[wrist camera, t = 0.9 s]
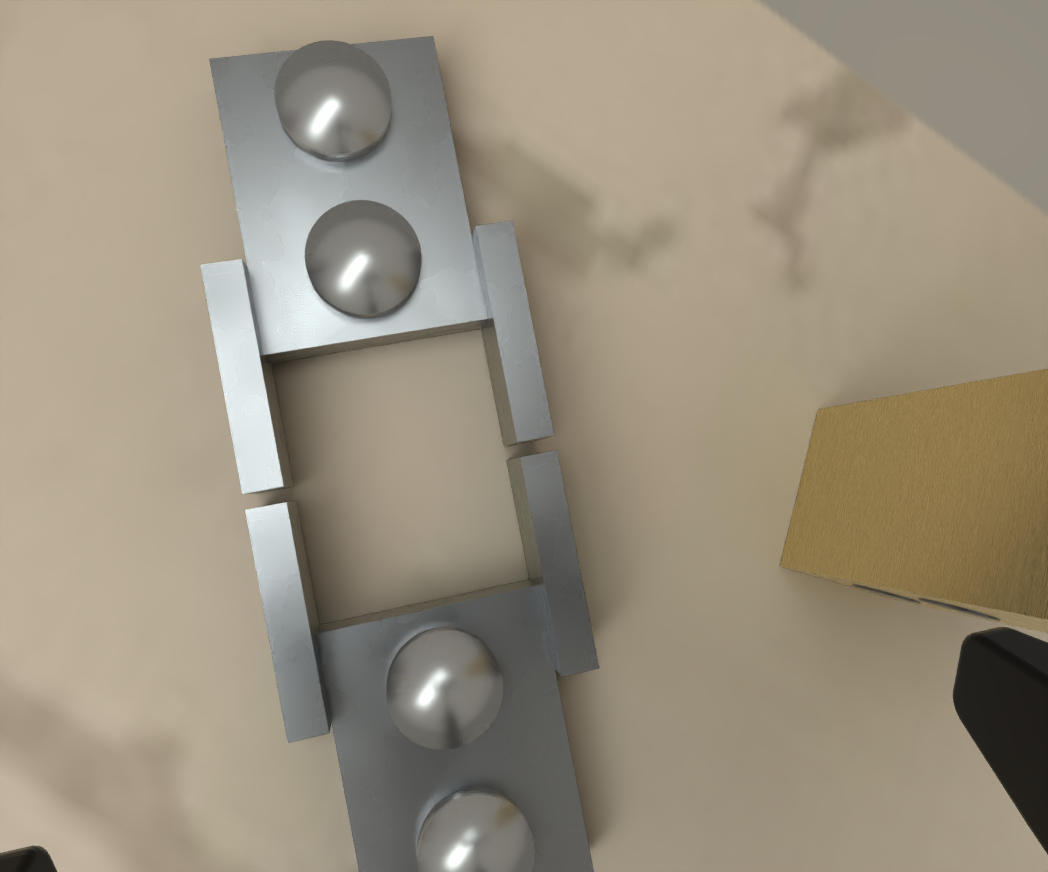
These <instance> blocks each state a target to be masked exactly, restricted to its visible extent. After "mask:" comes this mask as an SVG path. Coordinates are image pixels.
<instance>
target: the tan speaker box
mask: <svg viewBox="0 0 1048 872" xmlns="http://www.w3.org/2000/svg"><path fill="white" fill-rule="evenodd" d="M780 566H781V567H785V568H788V569H792V570H795V571H799V572H802V573H806V574H809V575H812V576H816V577H819V578H823V579H826V580H830V581H833V582H837V583H840V584H844V585H847V586H850V587H854V588H857V589H861V590H864V591H868V592H871V593H875V594H878V595H882V596H885V597H889V598H892V599H895V600H900V601H904V602H909V603H913V604H918V605H922V606H927V607H931V608H936V609H941V610H945V611H950V612H954V613H959V614H963V615H968V616H972V617H977V618H981V619H986V620H990V621H995V622H999V623H1004V624H1008V625H1013V626H1018V627H1022V628H1027V629H1031V630H1036V631H1040V632H1045V633H1048V369H1043V370H1037V371H1032V372H1026V373H1020V374H1015V375H1009V376H1003V377H998V378H992V379H987V380H981V381H975V382H970V383H964V384H958V385H953V386H947V387H942V388H936V389H930V390H925V391H919V392H913V393H908V394H902V395H897V396H891V397H885V398H880V399H874V400H868V401H863V402H857V403H852V404H846V405H840V406H835V407H829V408H823V409H818V412H817V417H816V421H815V425H814V429H813V433H812V437H811V441H810V445H809V449H808V453H807V457H806V461H805V465H804V469H803V473H802V477H801V481H800V485H799V490H798V494H797V498H796V502H795V506H794V510H793V514H792V518H791V522H790V526H789V530H788V534H787V538H786V542H785V546H784V550H783V554H782V559H781V563H780Z"/></svg>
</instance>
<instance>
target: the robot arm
mask: <svg viewBox="0 0 1048 872" xmlns="http://www.w3.org/2000/svg"><path fill="white" fill-rule="evenodd" d="M953 702H954V705H955V709H956V711H957V714H958V716H959V718H960V720H961V721H962V723H963V725H964V726H965V728H966V729H967V731H968V732H969V734H970V736H971V737H972V739H973V740H974V742H975V743H976V745H977V746H978V748H979V750H980V751H981V753H982V754H983V756H984V757H985V759H986V760H987V762H988V764H989V765H990V767H991V768H992V770H993V771H994V773H995V775H996V776H997V778H998V779H999V781H1000V782H1001V784H1002V785H1003V787H1004V789H1005V790H1006V792H1007V793H1008V795H1009V796H1010V798H1011V799H1012V801H1013V803H1014V804H1015V806H1016V807H1017V809H1018V810H1019V812H1020V813H1021V815H1022V817H1023V818H1024V820H1025V821H1026V823H1027V824H1028V826H1029V828H1030V829H1031V831H1032V832H1033V834H1034V835H1035V836H1036V838H1037V839H1038V841H1039V842H1040V844H1041V845H1042V847H1043V848H1044V850H1045V851H1046V853H1047V854H1048V643H1047V642H1044V641H1042V640H1039V639H1037V638H1034V637H1032V636H1029V635H1026V634H1024V633H1021V632H1019V631H1016V630H1014V629H1011V628H1006V627H997V628H993V629H988V630H984V631H980V632H975V633H972V634H970V635H968V636H967V637H966V638H965V639H964V641H963V643H962V646H961V651H960V657H959V662H958V667H957V673H956V678H955V683H954V689H953ZM0 872H57V870H56V868H55V866H54V864H53V861H52V859H51V857H50V855H49V854H48V852H47V851H46V850H45V849H44V848H43V847H41V846H29V847H25V848H21V849H16V850H12V851H7V852H3V853H0Z"/></svg>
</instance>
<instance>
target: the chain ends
mask: <svg viewBox="0 0 1048 872" xmlns="http://www.w3.org/2000/svg"><path fill="white" fill-rule="evenodd" d="M209 60H210V66H211V71H212V77H213V82H214V88H215V93H216V98H217V104H218V109H219V115H220V120H221V125H222V131H223V136H224V142H225V147H226V153H227V158H228V163H229V169H230V174H231V180H232V185H233V191H234V196H235V201H236V207H237V212H238V218H239V223H240V228H241V234H242V239H243V245H244V250H245V256H246V261H247V266H248V268H247V267H246V265H245V264H244V262H243V260H242V259H238V260H231V261H224V262H217V263H210V264H203V265H201V271H202V276H203V282H204V287H205V293H206V298H207V304H208V309H209V315H210V320H211V326H212V331H213V336H214V342H215V347H216V353H217V358H218V364H219V369H220V375H221V380H222V386H223V391H224V397H225V402H226V408H227V413H228V418H229V424H230V429H231V435H232V440H233V446H234V451H235V457H236V462H237V468H238V473H239V479H240V484H241V490H242V494H254V493H262V492H267V491H272V490H278V489H283V488H288V487H294V483H293V477H292V472H291V467H290V461H289V456H288V450H287V445H286V440H285V434H284V429H283V423H282V418H281V412H280V407H279V402H278V396H277V391H276V385H275V380H274V375H273V369H272V364H271V363H276V362H282V361H288V360H294V359H300V358H306V357H312V356H318V355H325V354H331V353H337V352H343V351H349V350H355V349H361V348H367V347H373V346H380V345H386V344H392V343H398V342H404V341H410V340H416V339H422V338H428V337H434V336H441V335H447V334H453V333H459V332H465V331H471V330H477V329H481V330H482V335H483V341H484V346H485V351H486V356H487V361H488V367H489V372H490V377H491V382H492V387H493V393H494V398H495V403H496V408H497V413H498V419H499V424H500V429H501V434H502V439H503V445H504V447H505V446H510V445H516V444H521V443H526V442H531V441H537V440H540V439H543V438H547V437H550V436H553V435H554V432H553V427H552V422H551V417H550V412H549V406H548V401H547V396H546V391H545V386H544V381H543V375H542V370H541V365H540V360H539V355H538V350H537V344H536V339H535V334H534V329H533V324H532V319H531V313H530V308H529V303H528V298H527V293H526V288H525V283H524V277H523V272H522V267H521V262H520V257H519V252H518V246H517V241H516V236H515V231H514V226H513V221H506V222H498V223H491V224H484V225H477V226H475V229H474V232H473V235H472V236H471V231H470V225H469V220H468V215H467V210H466V205H465V199H464V194H463V189H462V184H461V179H460V173H459V168H458V163H457V158H456V153H455V147H454V142H453V137H452V132H451V127H450V121H449V116H448V111H447V106H446V101H445V95H444V90H443V85H442V80H441V75H440V69H439V64H438V59H437V54H436V49H435V43H434V38H433V36H429V37H419V38H409V39H399V40H389V41H380V42H370V43H360V44H348V43H344V42H340V41H319V42H314V43H311V44H308V45H306V46H304V47H301V48H300V49H298V50H291V51H281V52H271V53H262V54H252V55H242V56H232V57H222V58H212V59H209ZM507 465H508V471H509V476H510V481H511V486H512V492H513V497H514V502H515V507H516V512H517V518H518V523H519V528H520V533H521V538H522V544H523V549H524V554H525V559H526V564H527V570H528V575H529V579H528V580H523V581H519V582H514V583H509V584H505V585H500V586H496V587H491V588H487V589H482V590H477V591H473V592H468V593H464V594H459V595H454V596H450V597H445V598H441V599H436V600H432V601H427V602H422V603H418V604H413V605H409V606H404V607H399V608H395V609H390V610H386V611H381V612H377V613H372V614H367V615H363V616H358V617H354V618H349V619H344V620H340V621H335V622H331V623H326V624H322V625H320V624H319V618H318V613H317V607H316V602H315V597H314V591H313V586H312V580H311V575H310V569H309V564H308V559H307V553H306V548H305V542H304V537H303V532H302V526H301V521H300V515H299V510H298V504H297V501H290V502H284V503H279V504H274V505H269V506H264V507H258V508H253V509H248V510H245V511H246V517H247V522H248V528H249V533H250V539H251V544H252V550H253V555H254V561H255V566H256V572H257V577H258V583H259V588H260V593H261V599H262V604H263V610H264V615H265V621H266V626H267V632H268V637H269V643H270V648H271V654H272V659H273V665H274V670H275V676H276V681H277V686H278V692H279V697H280V703H281V708H282V714H283V719H284V725H285V730H286V736H287V741H288V743H291V742H295V741H299V740H303V739H307V738H311V737H316V736H320V735H324V734H328V733H329V731H330V727H331V722H332V727H333V733H334V738H335V743H336V749H337V754H338V760H339V765H340V771H341V776H342V781H343V787H344V792H345V798H346V803H347V809H348V814H349V819H350V825H351V830H352V836H353V841H354V846H355V852H356V857H357V863H358V868H359V872H594V870H593V865H592V860H591V854H590V849H589V844H588V839H587V834H586V828H585V823H584V818H583V813H582V808H581V803H580V797H579V792H578V787H577V782H576V777H575V771H574V766H573V761H572V756H571V751H570V745H569V740H568V735H567V730H566V725H565V719H564V714H563V709H562V704H561V699H560V693H559V688H558V683H557V678H556V673H555V670H556V671H557V672H558V673H559V674H560V675H561V676H562V677H565V676H569V675H573V674H578V673H582V672H586V671H590V670H594V669H598V668H599V664H598V659H597V654H596V649H595V644H594V638H593V633H592V628H591V623H590V618H589V613H588V608H587V602H586V597H585V592H584V587H583V582H582V577H581V571H580V566H579V561H578V556H577V551H576V546H575V540H574V535H573V530H572V525H571V520H570V515H569V510H568V504H567V499H566V494H565V489H564V484H563V479H562V473H561V468H560V463H559V458H558V453H557V450H555V451H550V452H545V453H540V454H534V455H529V456H524V457H519V458H514V459H510V460H507Z"/></svg>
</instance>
